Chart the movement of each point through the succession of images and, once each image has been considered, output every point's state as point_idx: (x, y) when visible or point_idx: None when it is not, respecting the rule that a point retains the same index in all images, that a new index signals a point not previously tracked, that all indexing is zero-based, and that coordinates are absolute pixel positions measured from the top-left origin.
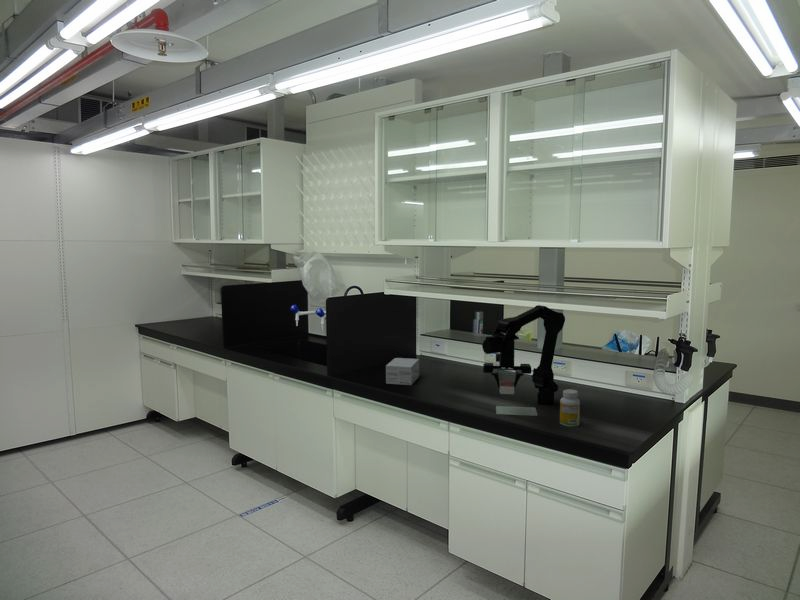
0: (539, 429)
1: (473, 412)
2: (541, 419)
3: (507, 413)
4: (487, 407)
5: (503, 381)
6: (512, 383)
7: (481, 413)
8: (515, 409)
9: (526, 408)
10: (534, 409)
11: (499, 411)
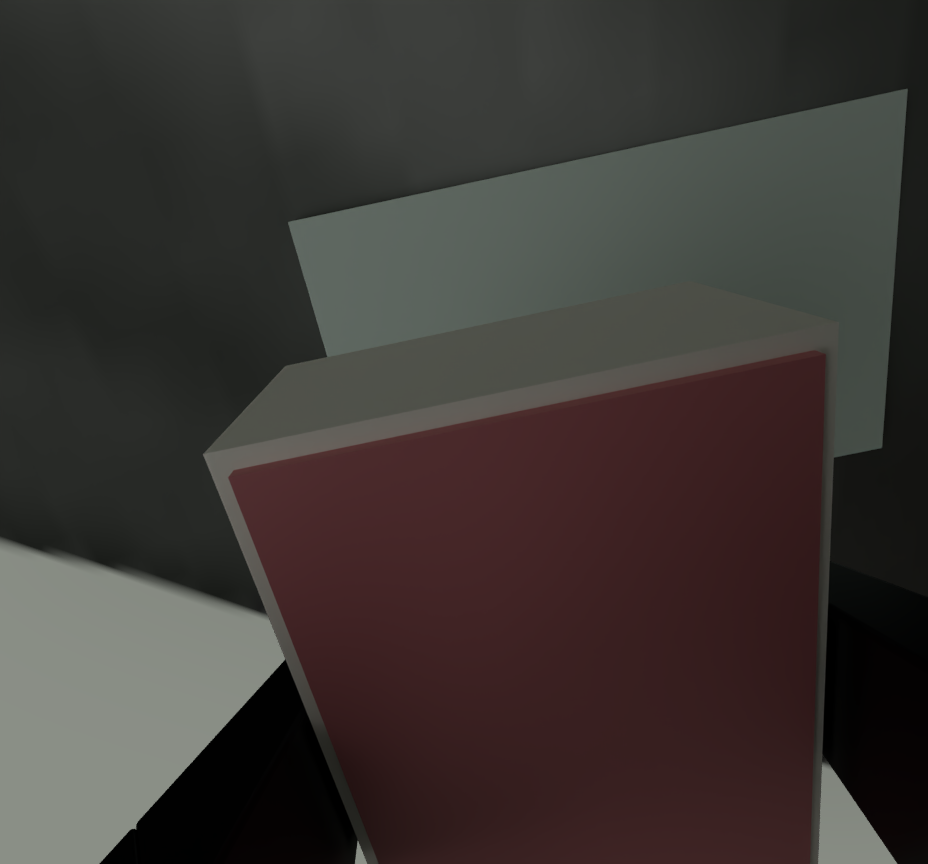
0: None
1: (87, 536)
2: (898, 509)
3: None
4: (175, 272)
5: (411, 547)
6: (788, 690)
7: (194, 538)
8: (601, 294)
9: (762, 188)
10: (878, 201)
11: None
